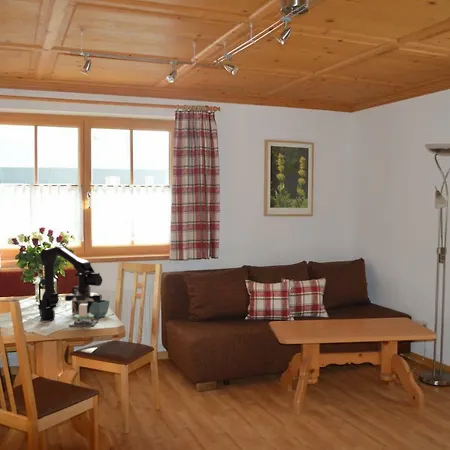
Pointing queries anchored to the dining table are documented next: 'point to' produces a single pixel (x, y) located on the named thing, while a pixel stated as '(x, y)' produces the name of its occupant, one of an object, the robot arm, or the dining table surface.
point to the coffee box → (74, 307)
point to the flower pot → (99, 308)
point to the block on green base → (83, 312)
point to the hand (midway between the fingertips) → (83, 313)
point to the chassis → (84, 322)
